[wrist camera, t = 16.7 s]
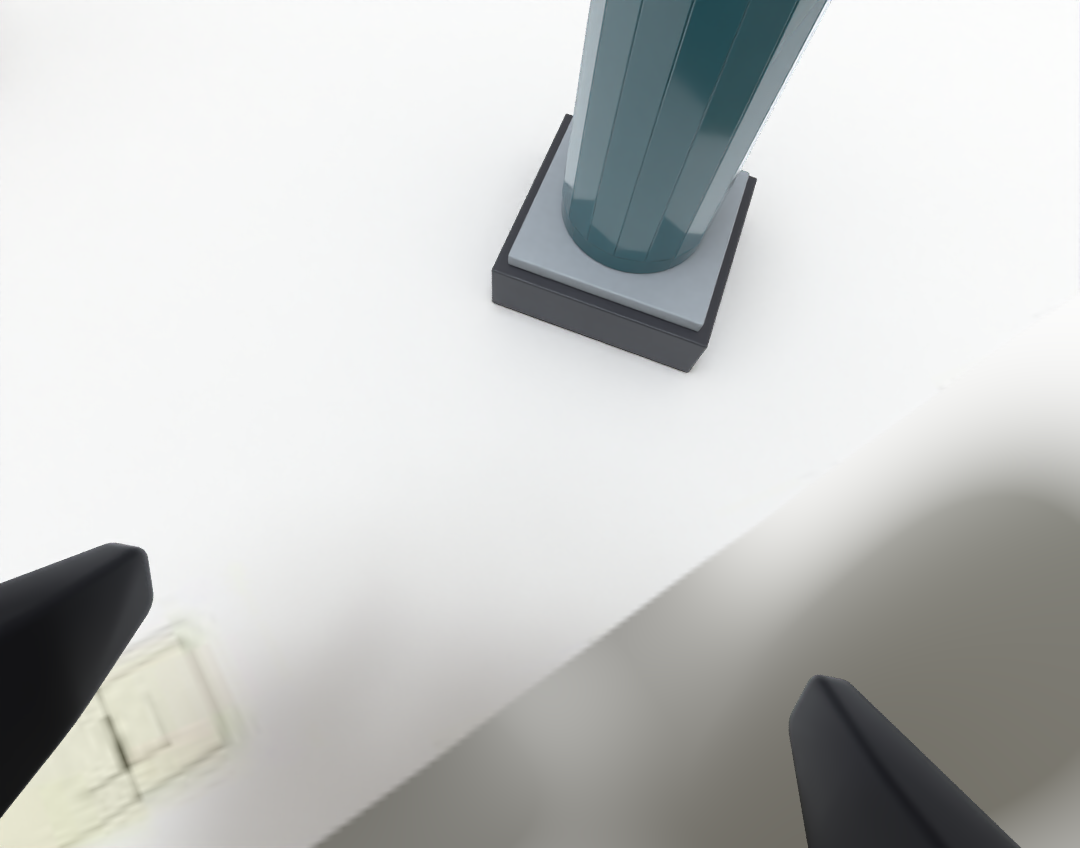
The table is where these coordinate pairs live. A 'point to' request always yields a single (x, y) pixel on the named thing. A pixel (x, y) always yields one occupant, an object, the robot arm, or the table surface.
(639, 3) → the tumbler
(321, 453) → the table surface
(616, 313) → the scale
